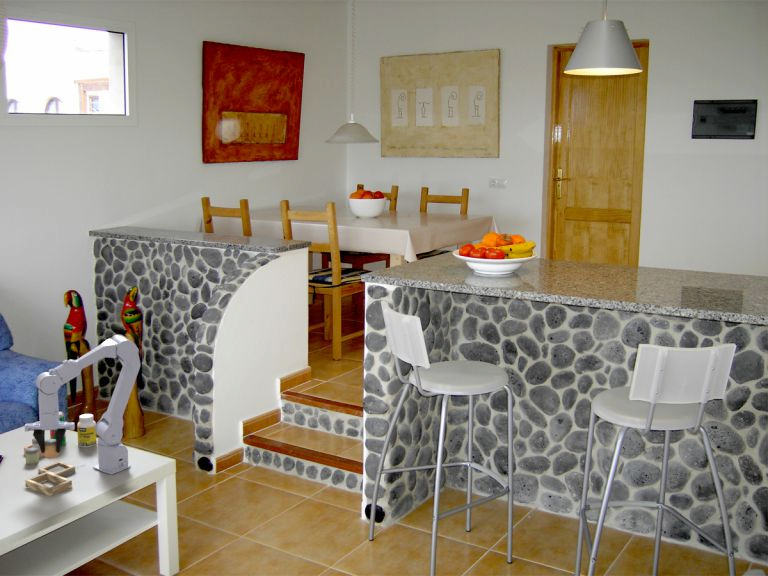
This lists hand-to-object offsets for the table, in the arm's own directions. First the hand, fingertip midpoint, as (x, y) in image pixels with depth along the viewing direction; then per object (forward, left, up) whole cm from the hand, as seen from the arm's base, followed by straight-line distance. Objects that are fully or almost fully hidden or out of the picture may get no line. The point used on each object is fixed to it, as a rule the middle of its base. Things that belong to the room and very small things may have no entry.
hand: (51, 451), depth 260 cm
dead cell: (+21, -10, -9) cm, 25 cm away
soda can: (+23, -19, -10) cm, 32 cm away
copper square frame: (+21, -10, -10) cm, 26 cm away
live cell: (0, 0, -2) cm, 2 cm away
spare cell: (+16, -4, -10) cm, 19 cm away
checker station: (-1, 0, -10) cm, 10 cm away
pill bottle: (+15, -25, -10) cm, 31 cm away
